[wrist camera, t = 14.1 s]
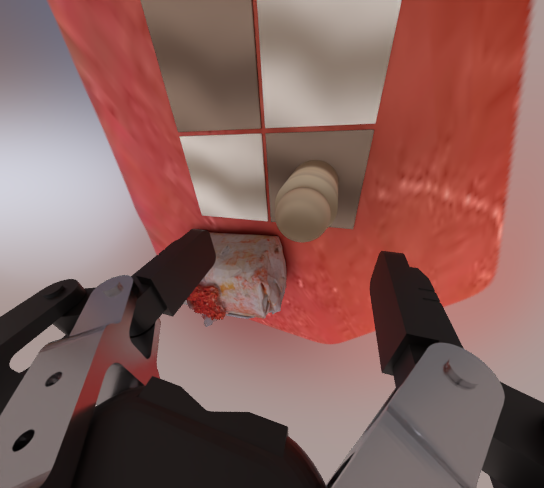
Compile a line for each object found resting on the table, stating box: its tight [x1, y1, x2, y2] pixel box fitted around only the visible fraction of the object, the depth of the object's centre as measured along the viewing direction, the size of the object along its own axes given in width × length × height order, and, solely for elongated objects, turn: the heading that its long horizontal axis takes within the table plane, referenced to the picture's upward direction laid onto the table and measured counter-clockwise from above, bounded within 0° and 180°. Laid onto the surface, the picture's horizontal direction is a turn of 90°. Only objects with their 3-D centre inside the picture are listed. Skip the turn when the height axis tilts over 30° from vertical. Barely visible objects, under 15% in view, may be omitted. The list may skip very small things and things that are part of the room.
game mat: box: [141, 0, 402, 229], centre depth 17 cm, size 18×18×1 cm
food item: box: [183, 232, 286, 327], centre depth 22 cm, size 14×8×10 cm, turn 98°
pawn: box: [275, 160, 339, 242], centre depth 15 cm, size 4×4×8 cm
